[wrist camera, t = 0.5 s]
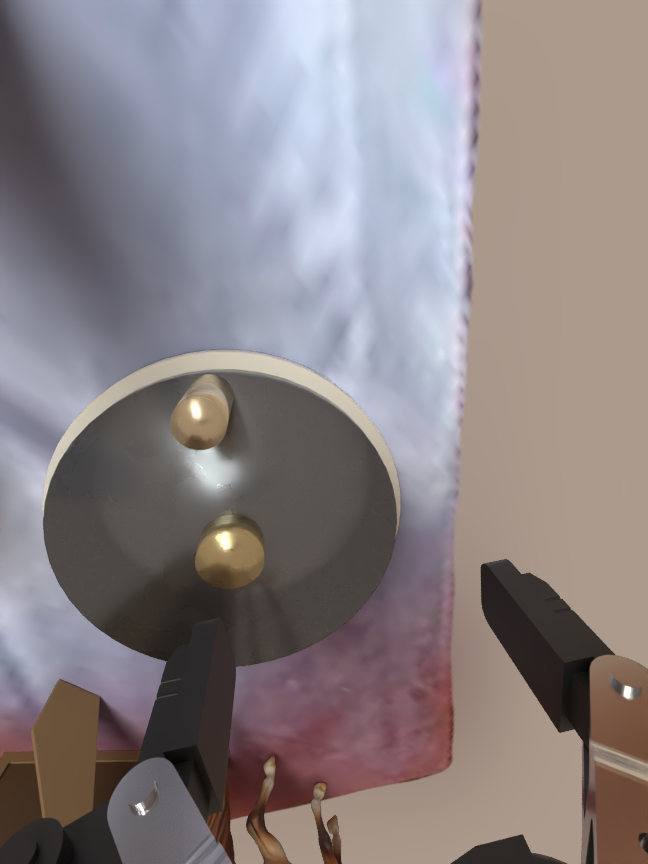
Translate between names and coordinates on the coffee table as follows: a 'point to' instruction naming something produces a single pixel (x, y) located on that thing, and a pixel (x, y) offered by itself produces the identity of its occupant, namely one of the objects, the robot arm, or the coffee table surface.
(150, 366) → the base plate
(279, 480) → the handwheel
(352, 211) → the coffee table surface
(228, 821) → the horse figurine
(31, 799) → the photo frame
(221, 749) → the robot arm
